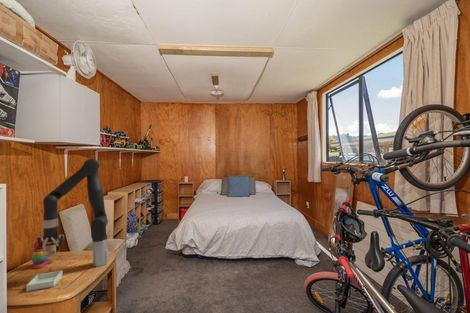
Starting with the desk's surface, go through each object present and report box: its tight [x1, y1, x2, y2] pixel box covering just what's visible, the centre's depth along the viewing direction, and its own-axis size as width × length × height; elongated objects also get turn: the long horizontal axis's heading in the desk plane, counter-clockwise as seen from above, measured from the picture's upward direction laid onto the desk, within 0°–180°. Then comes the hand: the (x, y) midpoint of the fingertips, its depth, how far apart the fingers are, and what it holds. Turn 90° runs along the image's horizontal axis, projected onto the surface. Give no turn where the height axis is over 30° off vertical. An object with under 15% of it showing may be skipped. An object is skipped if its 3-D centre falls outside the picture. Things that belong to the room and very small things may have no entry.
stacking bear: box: [31, 239, 53, 270], centre depth 160 cm, size 11×10×18 cm
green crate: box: [25, 269, 64, 293], centre depth 136 cm, size 13×13×4 cm
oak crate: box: [43, 242, 60, 257], centre depth 144 cm, size 6×6×6 cm
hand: (51, 251), depth 144 cm, fingers closed on oak crate, 6 cm apart
